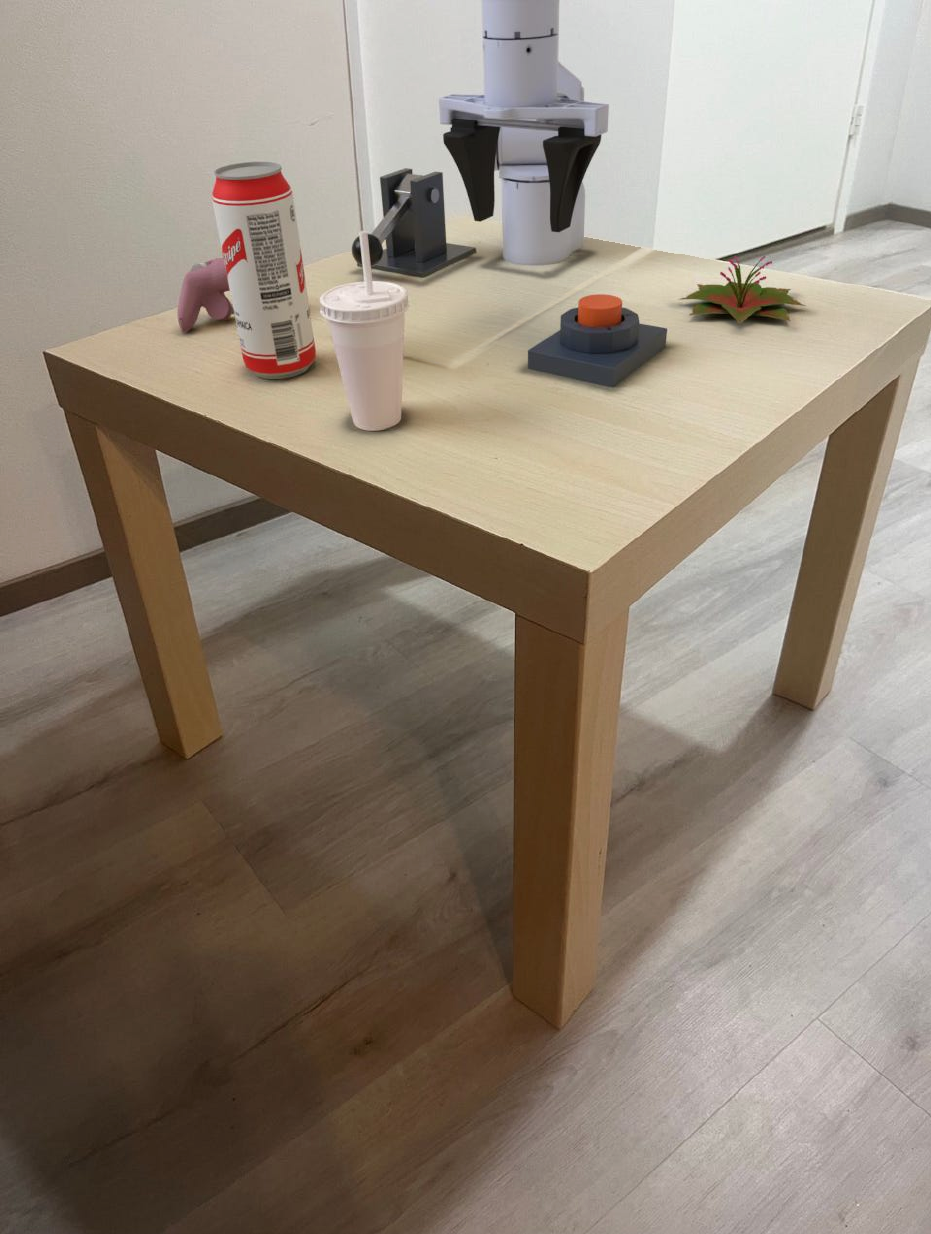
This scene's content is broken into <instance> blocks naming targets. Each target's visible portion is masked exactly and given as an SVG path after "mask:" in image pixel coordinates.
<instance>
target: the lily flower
mask: <svg viewBox="0 0 931 1234" xmlns="http://www.w3.org/2000/svg"><path fill="white" fill-rule="evenodd" d="M764 259H766V255H764V256H763V257H761V258H760V259H759V261H758V262H757V263H756V264H755V266H754V267H753V268H752V269H751V270H750V272H749V274H748V275H747V277H746V280H745V281H744V282H742V272H741V266H740V263H739V259H738V258H737V256H736V255H734V260H735V261H736V262H734V261H733V260H732V259H728V261H729V263H730V264H731V265H732V266H733V268H734V271H735V276H736V277H735V276H734V272H733V270H732V268H731V267H730V266H728V267H727V269H728V271H729V273H730V274H731V276H732V278H733V281H732V280H731V278H730V277H728V276H727V275H726V273H724V272H723V271H720V272H719V274H720V276H721V277H722V278H725V279H726V281H727V283H726V284H725V285H723V284H700V283H696V285H697V287H698V290H696V291H694V292H692V293H690V294H688V295H687V296H686V297H681V298H678V299H677V300H681V301H682V300H698V301H703V302H700V303H697V304H696V305H694V307H693V309H692V310H691V311H692V312H691V313H690V314H689V316H697V315H710V314H711V315H712V314H719V315H721V314H722V315H723V314H724V315H725V314H726V315H727V314H730V315H731V316H732V317H733V318H734V319H735V320H736V321H737V324H739V325H741V324H742V323H743V322H745V321H746V320H748V317H750V316H757V317H767V318H773V319H777V320H784V321H787V322H791V319H790V316H789V315H788V314H789V312H788V310H787V309H786V308H783V307H781V306H778V305H784V304H786V305H793V306H800V307H806V305H805V304H803V303H801V302H800V301H798V300H796V299H794V297H792V296H790V295H789V292H790V291H791V290H792V288H780V287H779V288H777V287H772V286H771V287H770V286H769V287H768V286H767V287H762V285H761V284H760V282H761V281H764V280H766V279H767V276H766V275H765V276H762V277H759V279H757V280H755V281H754V282H753V280H754V279H755V278H757V277H758V276H759V275H761V270H763V269H765V266H769V265H773V261H772V260H771V261H767V262H766V263H765V264H763V265H762V266H759V267H758V268H757V269H756V267H757V266H758V264H759V263H760V262H762V261H763V260H764ZM755 269H756V270H755ZM735 278H736V279H735ZM736 281H737V282H736Z"/></svg>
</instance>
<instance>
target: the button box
mask: <svg viewBox="0 0 931 1234" xmlns="http://www.w3.org/2000/svg"><path fill="white" fill-rule="evenodd" d="M559 325H560V326H559V327H560V328H559V330H558V331H556V332H555V333H553V334H551V335H550V336H548V337H546V338H545V339H543V340H542V341H540V342H539V343H537V344H536V345H534V346H533V347H531V348H529V349H528V350H527V369H528V370H530V371H531V370H532V371H536V372H541V373H545V374H550V375H553V376H558V377H563V378H568V379H572V380H577V381H581V382H585V383H591V384H593V385H599V386H603V387H608V388H614V387H615V386H616V385H618V384H619V383H620V382H622V381H623V380H624V379H626V378H628V376H630V375H631V374H632V373H634V371H636V370H637V369H639V368H640V367H641V366H642V365H644V364H645V363H646V362H648V361H649V360H650V359H652V358H653V357H654V356H656V355H657V354H658V353H660V352H661V351H662V350H663V349H665V348H666V347H667V338H668V337H667V336H668V328H667V327H661V326H656V325H651V324H645V323H640V316H639V314H638V313H637V312H635V311H633V310H631V309H629V308H627V307H623V306H622V316H621V323H620V324H619V325H615V326H610V327H590V326H584V325H581V324H579V323H578V307H574V308H571V309H568V310H567V311H565V312H564V313H562V314H560V323H559Z"/></svg>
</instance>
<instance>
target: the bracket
mask: <svg viewBox="0 0 931 1234" xmlns="http://www.w3.org/2000/svg"><path fill="white" fill-rule="evenodd" d="M407 174H414V172H413V169H412V168H406V167H405V168H402V169H398V170H395V171H393V172H390V173H387V174H384V175H382V176H379V183H380V194H381V204H382V213H383V214H382V217H383V218H384V217H385V216H386V214H387V213H388V212H389V211H390V209H391V208H392V207H393V206H394V204H395V203H396V202H397V200H398V199H397V197H396V194H395V192H394V190H395V189H396V188H397V186H398V185H399V184H400V183H401V181H402V180H403V179H404V178H405V176H406V175H407ZM410 185H411V199H412V211H407V212H406V213H405V215H404V216H403V217H402V219H401V220H400V221H399V222H398V224H397V225H396V226H395V228H394V229H393V230H392V231H391V233H390V234H389V235H388V237H387V238H386V239H385V247H386V248H383V255H382V258H381V260H380V261H379V263H377V264H376V265H374V266H372V267H371V270H376V271H381V272H387V273H391V274H392V273H393V274H398V275H403V276H410V277H415V278H420V279H424V278H426V277H428V276H430V275H432V274H435V273H436V272H438V271H440V270H443V269H446V268H447V267H449V266H452V265H454V264H455V263H458V262H459V261H462V260H464V259H466V258H468V257H470V256H472V255H475V254H476V253H477V248H476V247H474V246H469V245H468V246H467V245H462V244H455V243H449V242H447V230H446V228H447V227H446V212H445V211H446V210H445V193H444V191H445V190H444V173H443V172H442V171H433V172H431V173H428V174H425V175H423V176H421V177H419V178H416V179H413V180H410ZM356 266H357V267H360V268H363V266H361V265H360V264H358V263H357V262H356Z"/></svg>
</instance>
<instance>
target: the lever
mask: <svg viewBox="0 0 931 1234" xmlns="http://www.w3.org/2000/svg"><path fill="white" fill-rule="evenodd" d="M421 176H424V175H423V174H414V173H413V174H407V175H406V176H405V178H404V179H403V180H402V181H401V183H400V184H399V185H398V186H397V188H396V189H395V190H394V192H395V194H396V197H397V199H398V200H397V202H396V203H395V204H394V206H393V207H392V208H391V209H390V211H389V212H388V213H387V214H386V216H385V217H383V218H382V220H380V222H379V223H378V224H377V226H376V227H375V228H374V230H373V231H372V232H371V233H367V235H368V245H369V255H370V264H371V267H372V266H374V265H376V264H377V263H379V261H380V260H381V258H382V255H383V250H384V247H383V243H384V242H385V241H386V238H387V237H388V235H389V234H390V233H391V231H392V230H393V229H394V228H395V226H396V225H397V224H398V222H399V221H400V220H401V219H402V217H403V216H404V215H405V213H406V212H407V211H412V199H411V185H410V180H413V179H416V178H419V177H421ZM351 254H352V258H353V260H354V261H355V262H356V264H357V263H358V264H360V265H361V266H363V264H362V255H361V246H360V237H359V235H358V236H356V238H355V239H354V240H353V242H352V245H351Z"/></svg>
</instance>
